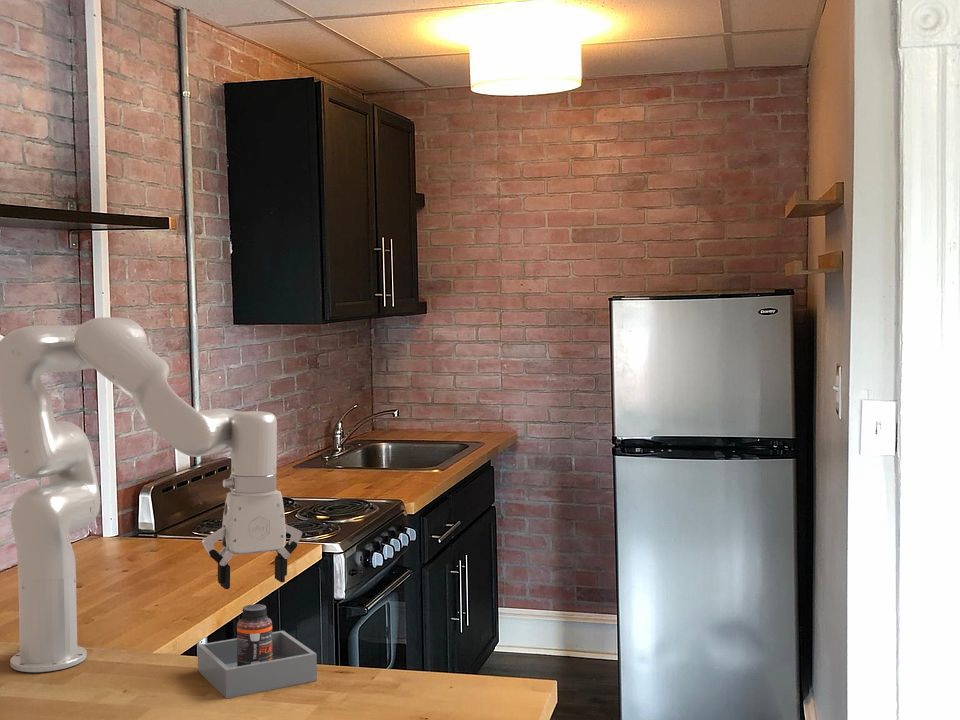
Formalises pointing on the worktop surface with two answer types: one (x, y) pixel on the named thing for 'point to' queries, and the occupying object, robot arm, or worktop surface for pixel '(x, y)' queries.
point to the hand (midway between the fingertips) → (252, 583)
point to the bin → (257, 666)
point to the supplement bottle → (254, 636)
